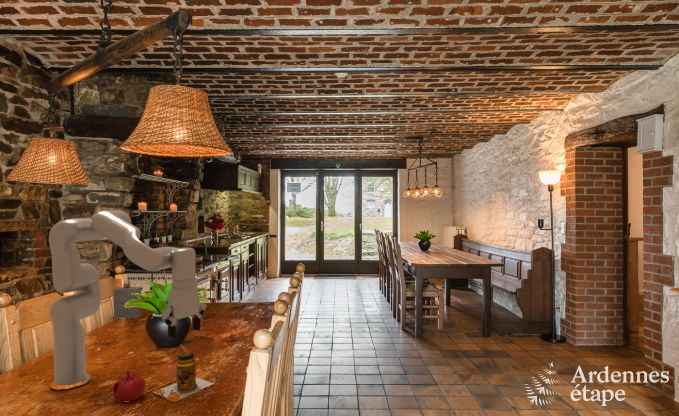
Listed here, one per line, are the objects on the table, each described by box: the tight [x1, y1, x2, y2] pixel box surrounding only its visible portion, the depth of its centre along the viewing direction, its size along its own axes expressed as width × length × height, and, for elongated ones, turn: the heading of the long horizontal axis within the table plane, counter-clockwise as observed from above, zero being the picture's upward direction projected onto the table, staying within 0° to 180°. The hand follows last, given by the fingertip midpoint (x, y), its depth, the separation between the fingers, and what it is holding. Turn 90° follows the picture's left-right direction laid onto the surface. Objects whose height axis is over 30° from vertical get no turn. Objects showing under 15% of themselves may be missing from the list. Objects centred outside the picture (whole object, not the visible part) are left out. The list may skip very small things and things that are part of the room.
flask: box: [113, 282, 142, 320], centre depth 241 cm, size 15×6×20 cm, turn 93°
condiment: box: [173, 351, 200, 395], centre depth 145 cm, size 7×8×12 cm
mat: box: [153, 377, 215, 398], centre depth 145 cm, size 12×16×1 cm
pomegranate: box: [112, 370, 146, 403], centre depth 139 cm, size 10×10×9 cm
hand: (184, 333), depth 144 cm, fingers open, 9 cm apart
